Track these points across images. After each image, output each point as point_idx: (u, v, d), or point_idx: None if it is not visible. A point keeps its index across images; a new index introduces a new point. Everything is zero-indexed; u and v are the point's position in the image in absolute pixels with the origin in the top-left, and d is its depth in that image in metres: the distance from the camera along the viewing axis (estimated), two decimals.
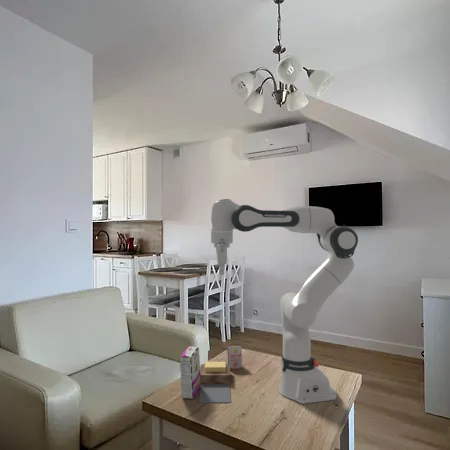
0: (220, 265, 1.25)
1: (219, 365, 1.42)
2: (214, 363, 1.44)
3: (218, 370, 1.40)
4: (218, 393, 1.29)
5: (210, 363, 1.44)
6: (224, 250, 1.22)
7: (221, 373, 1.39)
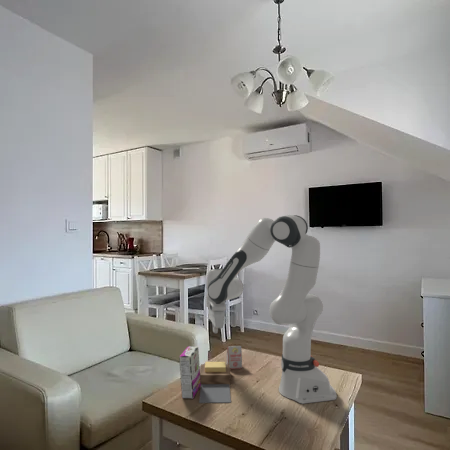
0: None
1: (219, 365, 1.42)
2: (214, 363, 1.44)
3: (218, 370, 1.40)
4: (218, 393, 1.29)
5: (210, 363, 1.44)
6: None
7: (221, 373, 1.39)
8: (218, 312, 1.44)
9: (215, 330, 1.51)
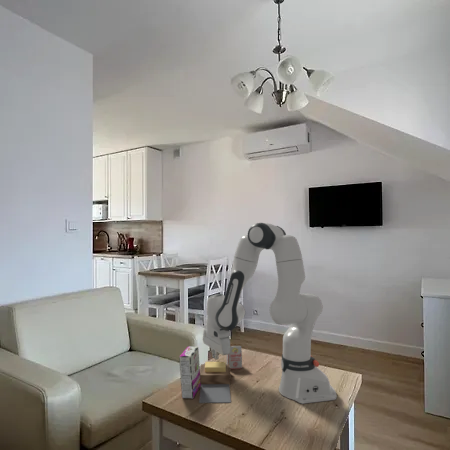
0: None
1: (219, 365, 1.42)
2: (214, 363, 1.44)
3: (218, 370, 1.40)
4: (218, 393, 1.29)
5: (210, 363, 1.44)
6: None
7: (221, 373, 1.39)
8: (224, 339, 1.45)
9: (216, 356, 1.51)
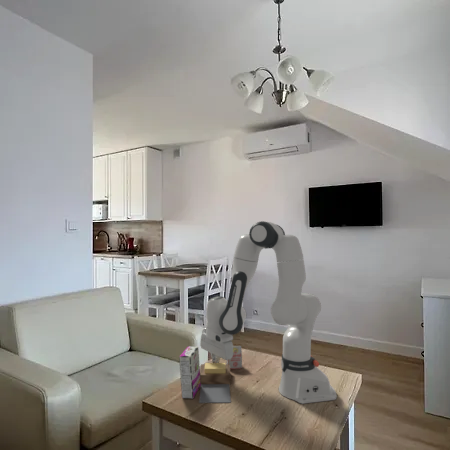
0: None
1: (219, 366, 1.41)
2: (214, 364, 1.43)
3: (217, 372, 1.39)
4: (218, 393, 1.29)
5: (210, 364, 1.43)
6: None
7: (221, 373, 1.39)
8: (227, 343, 1.40)
9: (217, 361, 1.45)
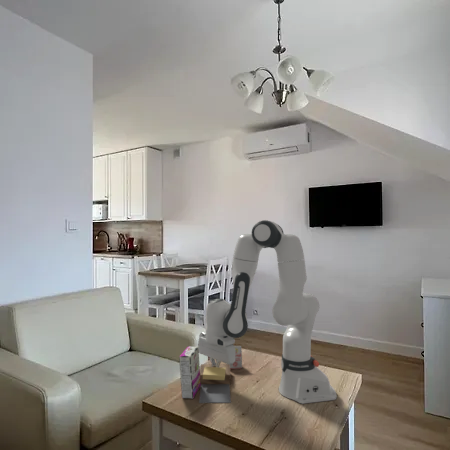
0: None
1: (218, 372, 1.36)
2: (213, 369, 1.38)
3: (216, 378, 1.34)
4: (218, 393, 1.29)
5: (209, 369, 1.38)
6: None
7: None
8: (229, 347, 1.35)
9: (217, 366, 1.40)
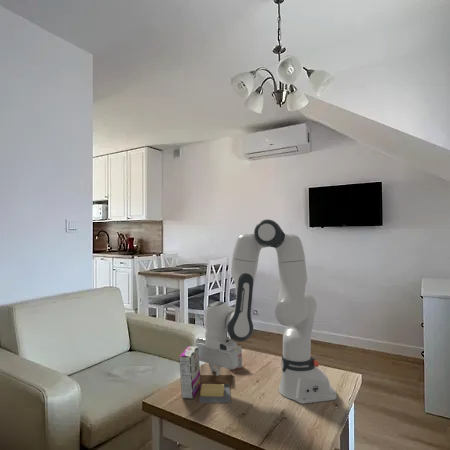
0: None
1: None
2: None
3: None
4: None
5: None
6: None
7: (221, 373, 1.39)
8: (233, 351, 1.30)
9: (218, 372, 1.34)
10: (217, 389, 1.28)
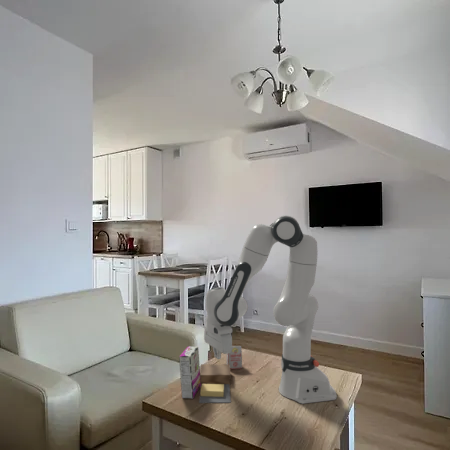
0: None
1: None
2: None
3: None
4: None
5: None
6: None
7: (221, 373, 1.39)
8: (225, 336, 1.32)
9: (218, 356, 1.38)
10: (217, 389, 1.28)
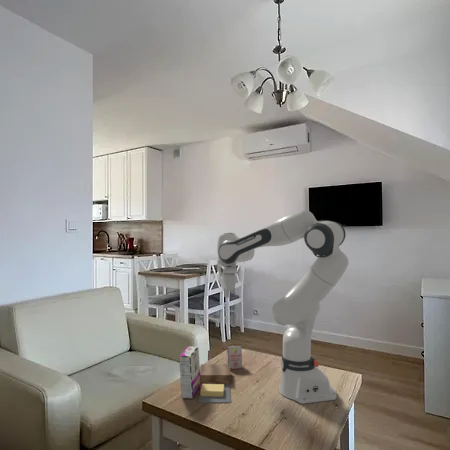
0: None
1: None
2: None
3: None
4: None
5: None
6: None
7: (221, 373, 1.39)
8: (229, 275, 1.43)
9: (226, 295, 1.50)
10: (217, 389, 1.28)
